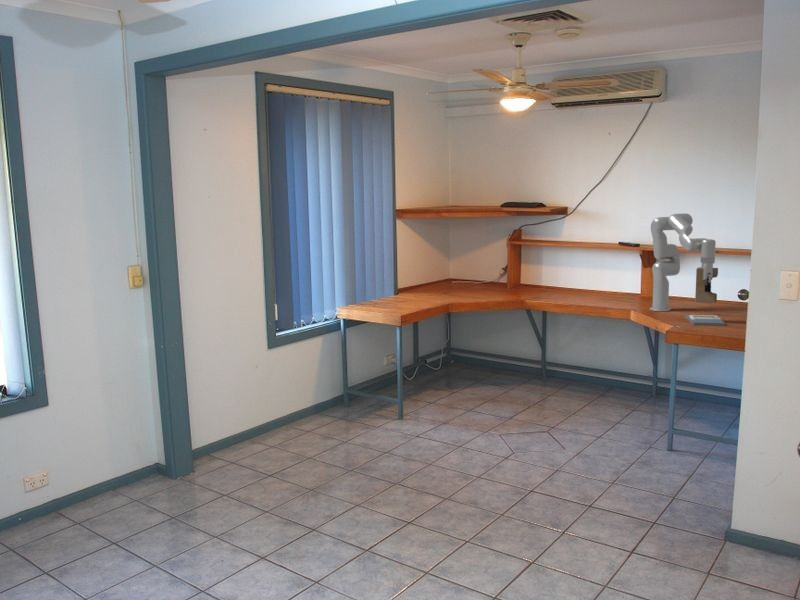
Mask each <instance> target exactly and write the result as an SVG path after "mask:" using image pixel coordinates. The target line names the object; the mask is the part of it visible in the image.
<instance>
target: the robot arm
mask: <svg viewBox="0 0 800 600" xmlns="http://www.w3.org/2000/svg"><path fill="white" fill-rule="evenodd" d="M693 220H694V219H693V217H692V215H691V214H689V213H686V212H685V213H673V214H671V215H670V216H660V217H656V218H654V219H653V220H652V221H651V223H650V232H651V233H650V234H651V236H652V248H653V257H654V258H655V259H656V260H661V261H657V262H656V261H655V263H654V264H653V265H652V267H651V269H652V271H651V272H652V278H653V279H652V280H653V283H652V284H653V285H652V286H653V288H652V306H651V307H649V310H650V311H654V312H670V311H671V310H672V309H671V307H669V299H670V298H669V297H670V296H669V295H670V293H669V292H670V281H669V280H668V278H667V277H669V276H671V277H672V276H677V275H679V273H680V271H681V257H680V256H681V255H680V249H679V247H678V246H677V245H676V244H675V243H674V244H673V243H668V237H667V235H666V233H665V232H664V231H675V232H676V233H677V234H678V241H679V244H680V245H681V246H682V248H683V249H684V250H686V251H688V252H700V263H701V265H700V266H701V268H703V280H705V279H706V280H705V282H706V285H705V292H712V280H713V268H714V264H715V263H716V262H715V261H716V240H715V239H713V238H712V239H710V238H709V239H708V238H705V237H701V238H691V237H689V236H690V235H692V232H693V229H694V228H693V226H692V224H693ZM707 278H708V280H707Z"/></svg>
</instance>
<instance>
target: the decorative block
mask: <svg viewBox="0 0 800 600" xmlns="http://www.w3.org/2000/svg"><path fill="white" fill-rule="evenodd" d="M695 271H696V275H695V296H694V299H695V300H694V301H695V303H709V304H716V303H717V301H718V300H717V299H718V298H717V297H718V294H717V293H715V292H712V291H711V292H705V285H706V282H705V280H706V279H705V280H703V268H701V267H697V268H696V270H695ZM718 275H719V268H718V267H713V278H718ZM713 278H712V279H713ZM707 280H708V278H707Z"/></svg>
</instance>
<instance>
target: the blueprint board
mask: <svg viewBox="0 0 800 600" xmlns="http://www.w3.org/2000/svg"><path fill="white" fill-rule="evenodd" d="M684 319H686V320H687V319H688V320H689V321H690V322H691V325H693V326H726V322H725V321H723V320H722V318H721V317H719V316H718V315H715V314H714V315H713V314H711V315H710V314H709V315H707V314H705V315H704V314H703V315H701V314H700V315H699V314H685V315H684ZM688 320H687V321H688ZM689 321H688V322H689ZM690 322H689V323H690Z"/></svg>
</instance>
